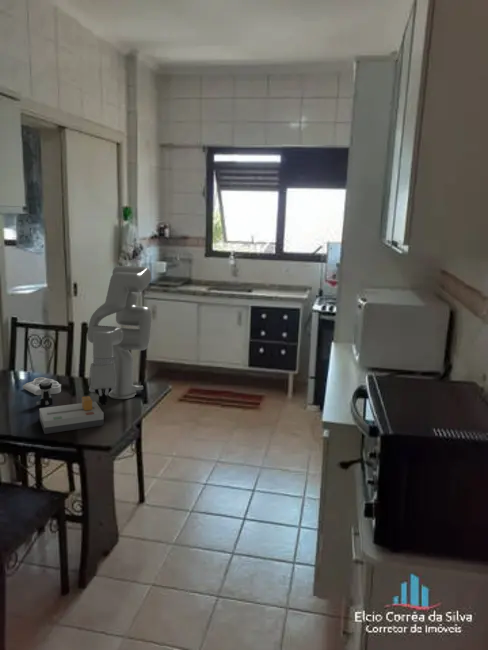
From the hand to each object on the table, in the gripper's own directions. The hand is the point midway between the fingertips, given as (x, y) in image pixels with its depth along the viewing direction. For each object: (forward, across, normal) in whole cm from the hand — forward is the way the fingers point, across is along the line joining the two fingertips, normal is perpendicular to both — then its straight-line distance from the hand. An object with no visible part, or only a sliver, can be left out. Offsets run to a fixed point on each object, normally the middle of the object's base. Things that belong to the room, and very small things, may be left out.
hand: (102, 404), depth 205 cm
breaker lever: (+3, +6, 0) cm, 7 cm away
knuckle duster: (+6, +17, -44) cm, 48 cm away
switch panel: (+6, +12, -2) cm, 14 cm away
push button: (+6, +19, -24) cm, 32 cm away
